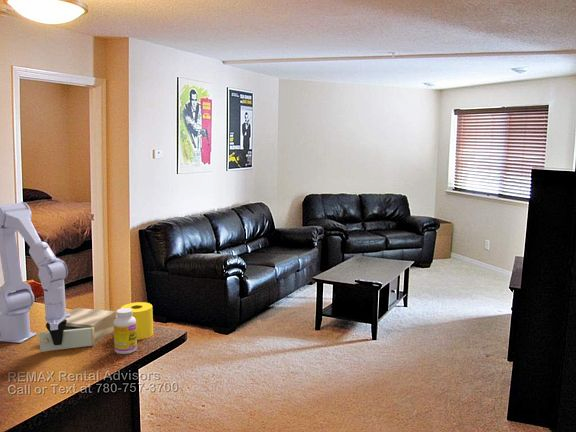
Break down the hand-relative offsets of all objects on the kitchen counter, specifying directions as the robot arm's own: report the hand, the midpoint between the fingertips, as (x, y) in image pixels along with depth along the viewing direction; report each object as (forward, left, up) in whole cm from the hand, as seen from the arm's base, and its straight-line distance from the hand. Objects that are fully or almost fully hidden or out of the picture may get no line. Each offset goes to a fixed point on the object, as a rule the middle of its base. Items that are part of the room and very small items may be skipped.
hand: (57, 344), depth 165 cm
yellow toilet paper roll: (+16, +19, -3) cm, 25 cm away
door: (+2, +2, -2) cm, 4 cm away
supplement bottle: (+19, +6, -3) cm, 20 cm away
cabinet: (0, +14, -2) cm, 15 cm away
